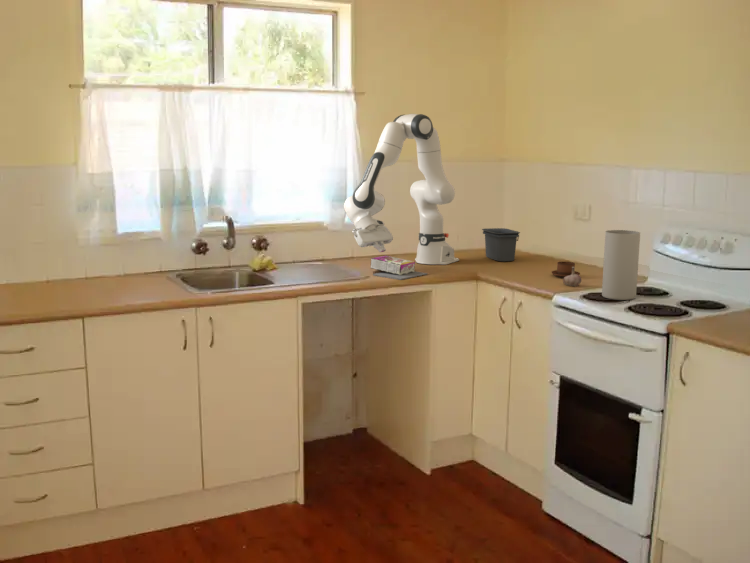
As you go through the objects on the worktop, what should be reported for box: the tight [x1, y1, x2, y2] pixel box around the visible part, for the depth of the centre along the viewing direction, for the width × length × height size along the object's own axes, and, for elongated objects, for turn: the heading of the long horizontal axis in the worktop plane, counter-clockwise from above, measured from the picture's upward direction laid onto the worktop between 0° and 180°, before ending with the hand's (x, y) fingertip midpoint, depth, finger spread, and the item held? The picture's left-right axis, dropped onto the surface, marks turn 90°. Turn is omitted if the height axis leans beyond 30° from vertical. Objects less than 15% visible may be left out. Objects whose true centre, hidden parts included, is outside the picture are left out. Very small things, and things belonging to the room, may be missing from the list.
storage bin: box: [481, 227, 521, 262], centre depth 399 cm, size 21×16×14 cm
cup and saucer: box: [551, 261, 581, 279], centre depth 353 cm, size 12×12×6 cm
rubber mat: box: [372, 270, 429, 281], centre depth 354 cm, size 18×16×1 cm
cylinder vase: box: [601, 229, 641, 301], centre depth 307 cm, size 12×12×25 cm
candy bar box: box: [370, 255, 416, 275], centre depth 358 cm, size 11×5×16 cm
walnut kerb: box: [372, 269, 384, 275], centre depth 360 cm, size 14×1×2 cm, turn 137°
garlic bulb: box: [562, 267, 582, 288], centre depth 332 cm, size 8×7×8 cm
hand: (383, 251), depth 360 cm, fingers closed
